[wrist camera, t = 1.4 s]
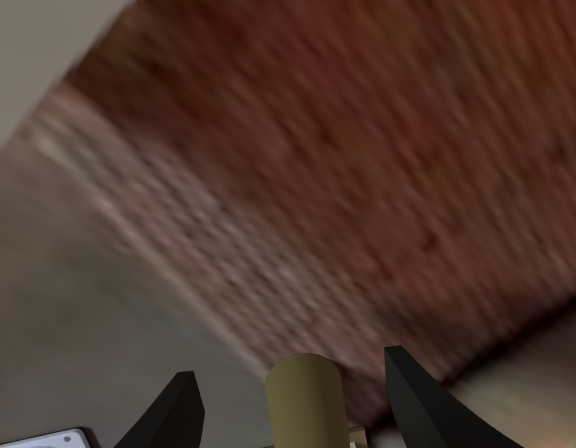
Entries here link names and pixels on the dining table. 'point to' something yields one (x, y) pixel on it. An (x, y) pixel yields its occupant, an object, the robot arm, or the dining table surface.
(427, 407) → the robot arm
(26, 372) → the dining table surface
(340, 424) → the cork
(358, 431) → the board
